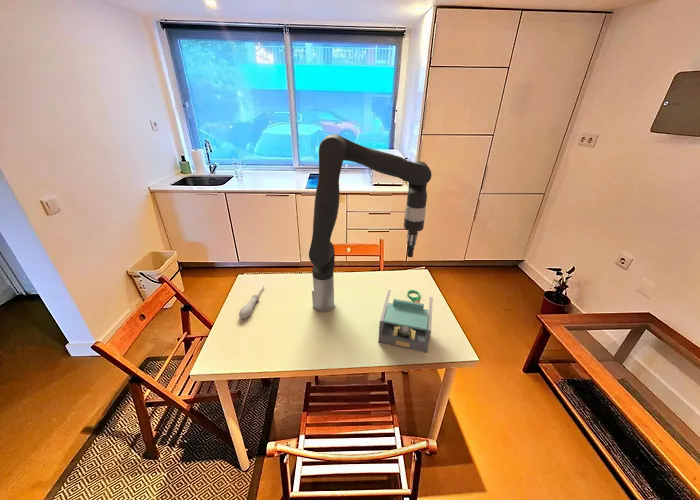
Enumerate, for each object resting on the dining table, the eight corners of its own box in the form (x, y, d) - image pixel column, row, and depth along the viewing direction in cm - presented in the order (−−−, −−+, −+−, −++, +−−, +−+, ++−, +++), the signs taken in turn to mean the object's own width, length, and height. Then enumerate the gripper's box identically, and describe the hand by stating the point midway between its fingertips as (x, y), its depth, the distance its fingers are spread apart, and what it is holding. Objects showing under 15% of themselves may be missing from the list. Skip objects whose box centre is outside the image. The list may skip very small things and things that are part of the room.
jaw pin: (400, 333, 118) (402, 316, 114) (409, 335, 117) (412, 319, 113) (398, 340, 115) (400, 323, 110) (408, 343, 114) (410, 325, 109)
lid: (383, 322, 109) (384, 315, 108) (388, 304, 119) (388, 297, 117) (426, 330, 106) (428, 323, 104) (428, 311, 115) (429, 304, 113)
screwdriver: (268, 290, 148) (269, 283, 146) (246, 322, 126) (247, 314, 124) (259, 288, 148) (260, 281, 146) (236, 319, 126) (236, 311, 124)
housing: (378, 342, 115) (379, 320, 109) (386, 310, 132) (388, 289, 127) (427, 353, 111) (431, 330, 105) (429, 318, 128) (432, 297, 122)
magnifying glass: (405, 292, 145) (406, 289, 144) (417, 291, 145) (418, 289, 145) (412, 312, 132) (412, 309, 131) (425, 312, 132) (426, 309, 131)
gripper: (406, 209, 116) (402, 247, 124) (402, 222, 105) (398, 263, 113) (425, 211, 114) (420, 250, 123) (423, 224, 103) (418, 265, 111)
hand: (409, 256), depth 118 cm, fingers closed
